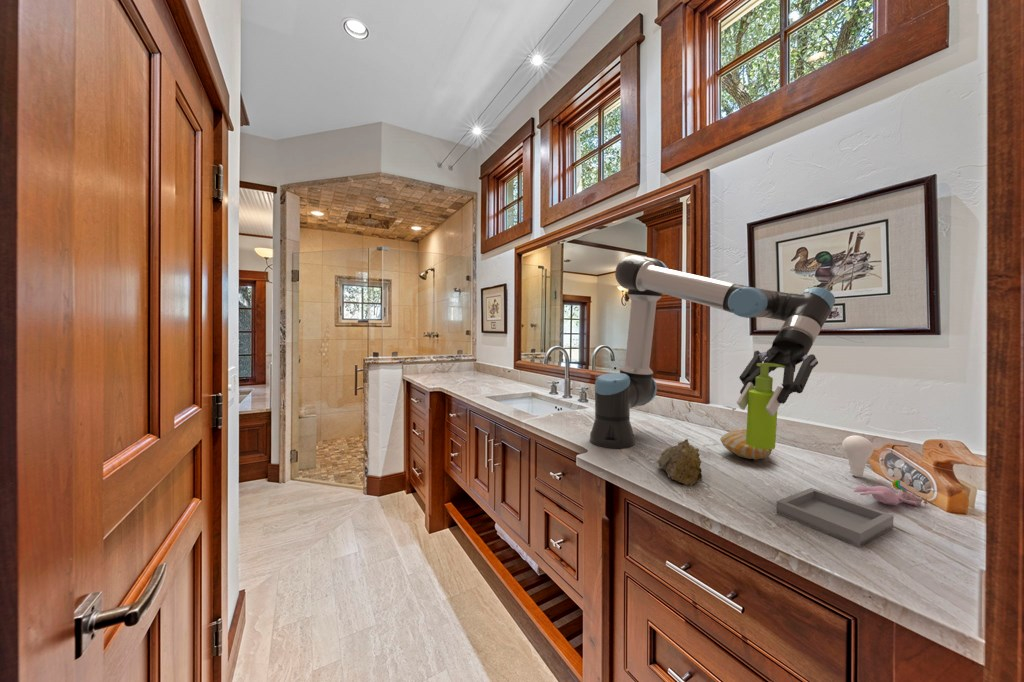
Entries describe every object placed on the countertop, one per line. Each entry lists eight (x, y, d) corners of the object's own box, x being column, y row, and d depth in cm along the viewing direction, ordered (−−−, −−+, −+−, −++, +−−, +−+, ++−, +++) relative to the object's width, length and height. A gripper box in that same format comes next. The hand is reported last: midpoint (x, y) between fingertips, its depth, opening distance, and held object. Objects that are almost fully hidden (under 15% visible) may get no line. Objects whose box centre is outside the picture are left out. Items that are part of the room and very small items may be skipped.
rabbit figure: (903, 502, 87) (842, 493, 86) (908, 477, 87) (847, 468, 86) (934, 516, 81) (869, 506, 80) (940, 489, 80) (875, 480, 80)
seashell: (682, 468, 108) (680, 433, 109) (716, 484, 94) (713, 444, 94) (647, 471, 106) (644, 436, 107) (676, 488, 92) (673, 448, 93)
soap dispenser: (785, 451, 85) (790, 365, 84) (751, 448, 87) (756, 364, 85) (772, 442, 91) (777, 362, 89) (741, 440, 92) (746, 361, 91)
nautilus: (753, 445, 125) (801, 463, 111) (706, 449, 118) (750, 469, 104) (756, 422, 124) (804, 437, 110) (708, 425, 117) (753, 441, 103)
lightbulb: (879, 481, 95) (881, 439, 94) (855, 481, 95) (857, 439, 94) (857, 471, 101) (858, 432, 101) (835, 472, 101) (836, 432, 101)
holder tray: (776, 512, 80) (776, 501, 80) (810, 498, 86) (811, 487, 86) (859, 547, 67) (860, 533, 67) (893, 528, 73) (893, 515, 73)
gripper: (847, 350, 86) (806, 429, 79) (761, 345, 103) (722, 410, 96) (836, 328, 83) (794, 407, 77) (751, 327, 100) (710, 392, 94)
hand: (754, 408), depth 87 cm, fingers closed on soap dispenser, 6 cm apart
